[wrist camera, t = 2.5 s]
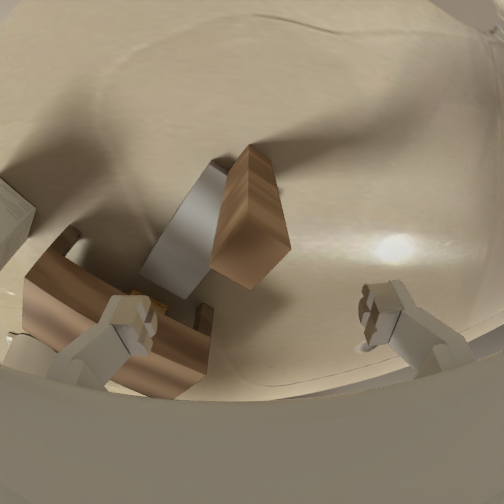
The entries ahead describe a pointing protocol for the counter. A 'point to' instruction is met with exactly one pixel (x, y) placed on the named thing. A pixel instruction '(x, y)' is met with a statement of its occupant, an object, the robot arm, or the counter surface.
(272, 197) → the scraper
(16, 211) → the skincare box
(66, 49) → the counter surface
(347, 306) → the counter surface
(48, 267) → the small wooden table
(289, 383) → the counter surface
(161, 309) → the tan square tile
